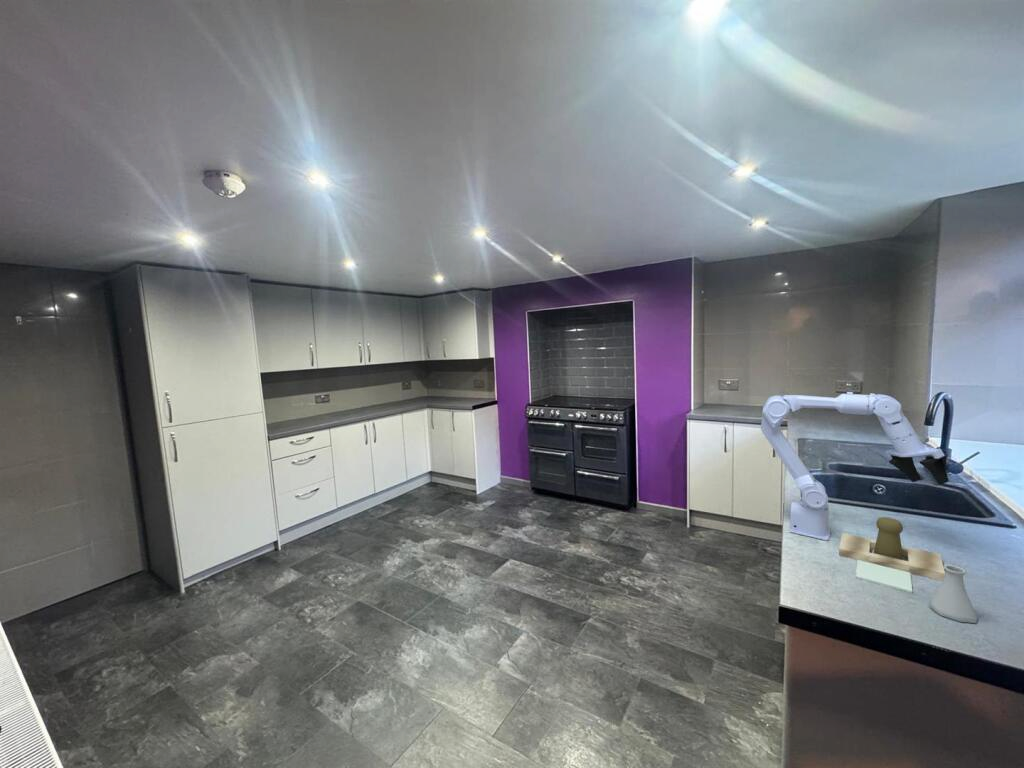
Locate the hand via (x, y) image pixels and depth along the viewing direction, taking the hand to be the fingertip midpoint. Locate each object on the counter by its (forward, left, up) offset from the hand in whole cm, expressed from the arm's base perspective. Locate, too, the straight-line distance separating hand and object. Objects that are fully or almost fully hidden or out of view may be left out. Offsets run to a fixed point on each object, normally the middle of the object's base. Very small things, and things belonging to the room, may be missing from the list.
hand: (929, 481), depth 108 cm
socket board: (-8, -10, -20) cm, 24 cm away
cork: (-8, -10, -20) cm, 24 cm away
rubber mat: (-9, -22, -20) cm, 31 cm away
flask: (+2, -31, -20) cm, 37 cm away
